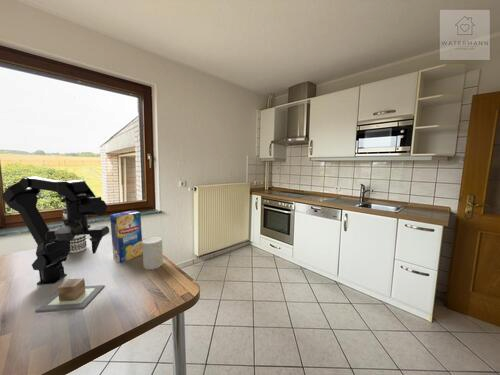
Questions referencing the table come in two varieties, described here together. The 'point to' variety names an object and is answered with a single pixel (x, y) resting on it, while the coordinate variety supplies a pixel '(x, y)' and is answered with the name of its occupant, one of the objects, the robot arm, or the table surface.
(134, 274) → the table surface
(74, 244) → the decorative candle
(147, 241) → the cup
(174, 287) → the table surface
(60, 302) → the rest pad
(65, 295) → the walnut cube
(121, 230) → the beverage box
